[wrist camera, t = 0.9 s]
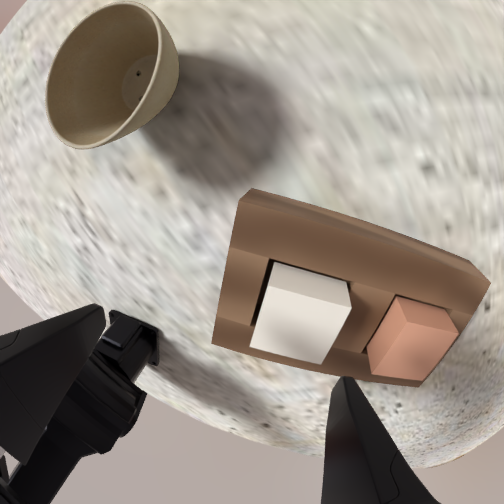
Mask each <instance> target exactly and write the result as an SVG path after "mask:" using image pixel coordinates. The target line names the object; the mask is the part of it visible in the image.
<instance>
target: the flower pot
mask: <svg viewBox="0 0 504 504" xmlns="http://www.w3.org/2000/svg"><path fill="white" fill-rule="evenodd" d="M137 74H139V76H137ZM178 77H179V60H178V55H177V51H176V47H175V44H174V42H173V40H172V38H171V36H170V34H169V32H168V30H167V29H166V27H165V26H164V24H163V23H162V22H161V20H160V19H159V18H158V17H157V16H156V15H155V14H154V12H152V11H151V10H150V9H149V8H148V7H146V6H145V5H143V4H140V3H137V2H132V1H121V2H115V3H111V4H108V5H105V6H103V7H101V8H99V9H97V10H95V11H93V12H92V13H90V14H89V15H88V16H86V17H85V18H84V19H83V20H81V21H80V22H79V23H78V24H77V25H76V26H75V27H74V28H73V30H72V31H71V32H70V33H69V34H68V36H67V37H66V38H65V40H64V41H63V43H62V44H61V46H60V48H59V49H58V51H57V53H56V55H55V57H54V60H53V62H52V65H51V67H50V71H49V74H48V78H47V83H46V91H45V106H46V113H47V117H48V121H49V124H50V126H51V128H52V130H53V132H54V134H55V135H56V136H57V138H58V139H59V140H60V141H61V142H63V143H64V144H66V145H67V146H69V147H72V148H75V149H91V148H95V147H98V146H102V145H105V144H107V143H110V142H112V141H115V140H117V139H120V138H122V137H124V136H126V135H128V134H130V133H132V132H133V131H135V130H137V129H139V128H140V127H142V126H143V125H145V124H146V123H147V122H149V121H150V120H151V119H153V118H154V117H155V116H156V115H157V114H158V113H159V112H160V111H161V110H162V109H163V108H164V107H165V106H166V104H167V103H168V102H169V100H170V99H171V97H172V95H173V93H174V91H175V89H176V86H177V82H178Z"/></svg>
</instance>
